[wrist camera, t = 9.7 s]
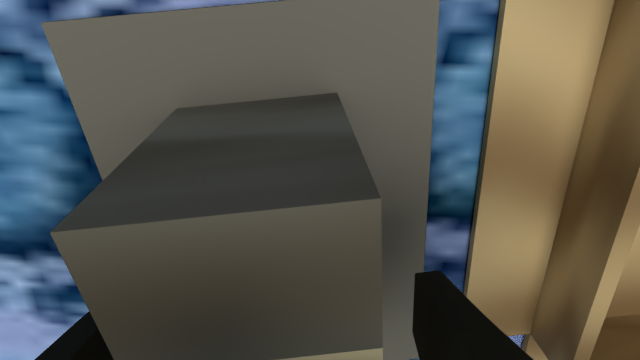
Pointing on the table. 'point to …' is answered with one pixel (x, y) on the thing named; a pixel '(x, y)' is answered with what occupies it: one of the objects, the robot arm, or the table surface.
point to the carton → (561, 181)
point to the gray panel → (276, 95)
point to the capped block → (235, 238)
